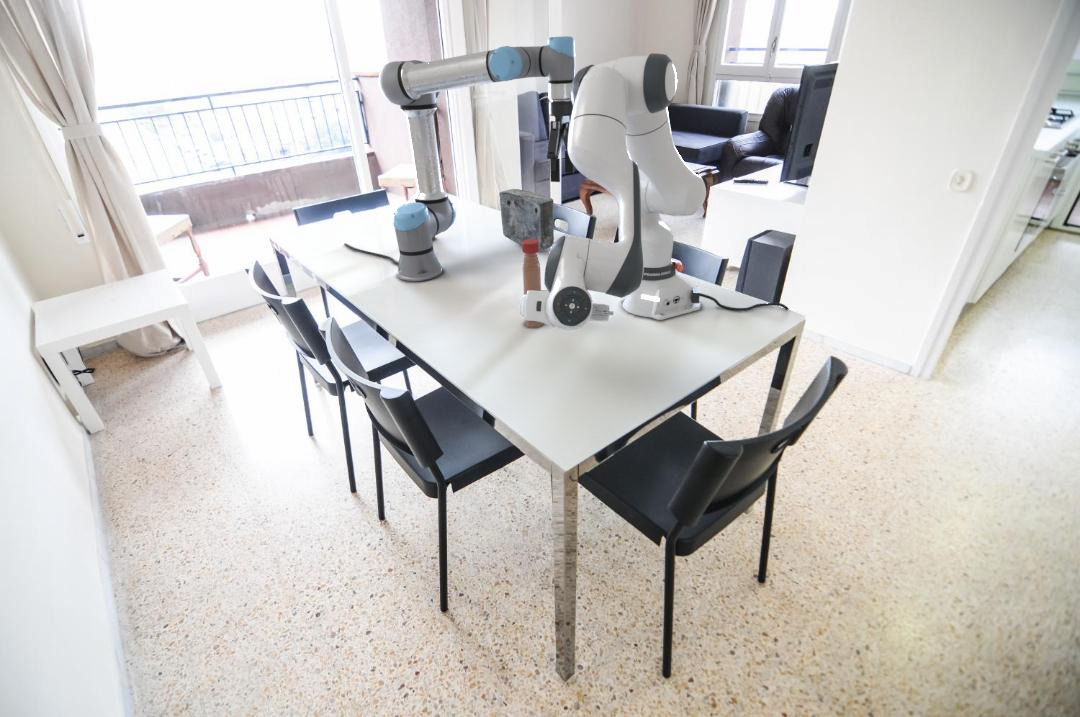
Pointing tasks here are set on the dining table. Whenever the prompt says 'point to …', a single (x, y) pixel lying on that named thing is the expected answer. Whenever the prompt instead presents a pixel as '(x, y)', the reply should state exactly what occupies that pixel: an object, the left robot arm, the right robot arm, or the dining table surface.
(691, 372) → the dining table surface
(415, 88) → the left robot arm
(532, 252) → the cap
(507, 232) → the concrete block
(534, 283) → the bottle
